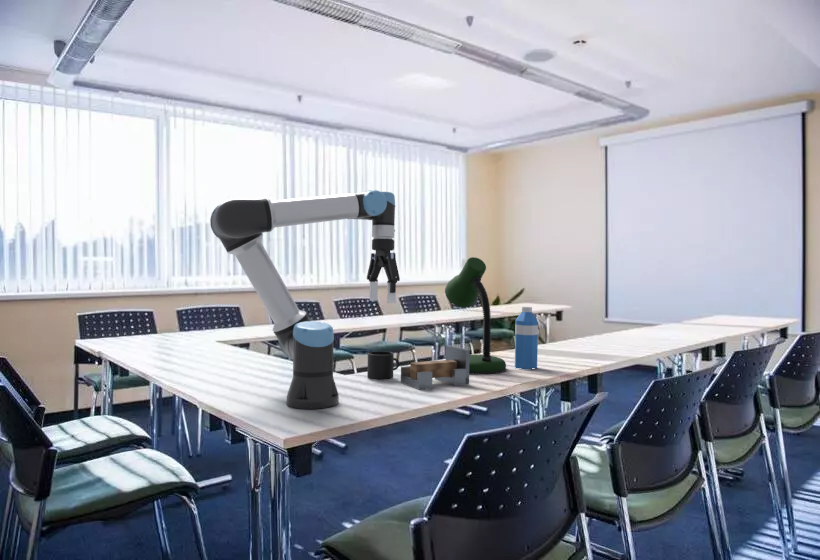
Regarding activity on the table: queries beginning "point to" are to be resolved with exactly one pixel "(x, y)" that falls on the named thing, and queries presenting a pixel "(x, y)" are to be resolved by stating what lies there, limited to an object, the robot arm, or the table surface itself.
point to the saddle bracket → (420, 383)
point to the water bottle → (526, 339)
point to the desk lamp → (465, 295)
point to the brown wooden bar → (433, 368)
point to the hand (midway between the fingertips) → (382, 302)
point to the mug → (381, 365)
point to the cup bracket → (462, 371)
